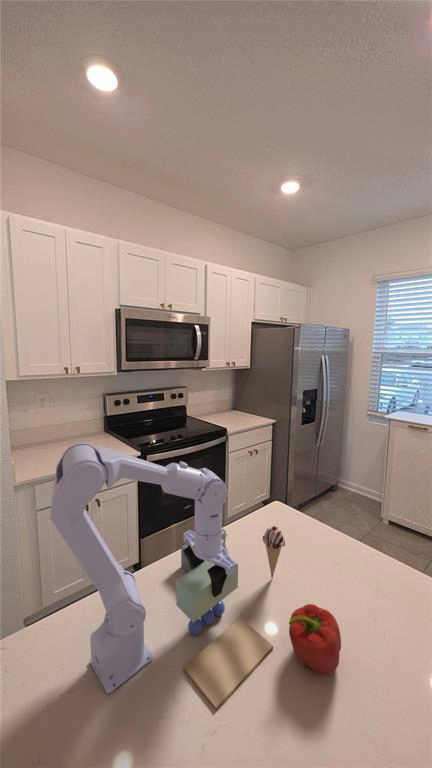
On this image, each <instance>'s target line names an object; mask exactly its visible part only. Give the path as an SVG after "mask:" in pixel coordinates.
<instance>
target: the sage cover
mask: <svg viewBox="0 0 432 768" xmlns="http://www.w3.org/2000/svg"><path fill="white" fill-rule="evenodd" d="M232 560H233V561H234V562H236V571H235V572H234V573H233V574H231V575H230V576H227V578H226V580H225V583H224V586H223V589H222V593H221V594H219V595H218V596H217V597H214V596H213V595H212V585H211V579H210V576H209V574H208V572H207V570H208V569H209V568H211V567H212V566H215V564H213V563H210V562H208V561H205V562H203V563H202V564H200V565H199V566H197V567H195V568H194V569H192V570H191V571H189V572H186V573H185V574H183V575H182V576H180V577H179V578H177V579H175V593H176V594H175V595H176V596H175V599H176V600H175V603H176V606H177V608H178V609H179V610H180V611H182V613H183V614H184V615H185V616H186V617H187V618H188V619H189V621H190V620H191V621H192V622H193V623H194V622H195V621H196V620H197V619H200V617H201V616H202V615H204V614H205V613H206V612H207V611H209V610H210V609H211V610H212V607H214V606H215V605H216V604H217V603H219V602H220V601H222V600H224V599H225V598H226V597H228V596H230V595H231V594H232V593H233V592H234V591H235V590H236V589H239V585H238V584H239V563H238V562H237V561H235V560H234V559H232Z"/></svg>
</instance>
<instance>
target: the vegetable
mask: <svg viewBox="0 0 432 768" xmlns="http://www.w3.org/2000/svg"><path fill="white" fill-rule="evenodd" d="M288 625H289V628H288V629H289V631H288V634H289V638H290V643H291V646H292V649H293V653H294V654H295V655H294V656H295V657H296V659H297V660H298V661H299V663H301V664H302V665H303V666H305V667H306V666H307V667H308V666H309V667H310V668H311V669H312V671H313V670H314V671H315V672H316V673H317V674H320V675H329V674H333V673H334V672H335V671H336V670H337V668H338V667H339V663H340V652H341V650H342V649H341V648H342V637H341V631H340V627H339V624H338V621H337V619H336V618H335V617H334V615H333V614H332V612H330V611H329V610H327V609H325V608H322V607H319V606H317V605H316V604H312V603H307V604H305V605H303V606H301V607H299V608H297V609H295V610H294V611H293V612H292V614H291V616H290V620H289V622H288Z"/></svg>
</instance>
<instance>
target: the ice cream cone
mask: <svg viewBox="0 0 432 768" xmlns="http://www.w3.org/2000/svg"><path fill="white" fill-rule="evenodd" d="M262 542H263V543H264V544H265V549H266V553H267V559H268V560H267V561H268V565H269V570H270V576H271V579H273V577H274V574H275V569H276V567H277V565H278V561H279V557H280V554H281V549H282V547H285V546H286V539H285V537H284V535H283V533H282V531H281V529H279V527H277V526H275V525H273V526H271V527H268V528H266V531H265V533H264V535H263V536H262Z"/></svg>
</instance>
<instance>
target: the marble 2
mask: <svg viewBox="0 0 432 768" xmlns="http://www.w3.org/2000/svg"><path fill="white" fill-rule="evenodd" d="M214 618H215V614H214V613H213V611H212V608H211V609H210V610H209V611H207V612H206V613H205V614H204V615H202V616H201V617H200V618H199V619H200V620H201V622H202V625H205V626H209V625H211V624H212V623H213V622H214Z"/></svg>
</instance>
